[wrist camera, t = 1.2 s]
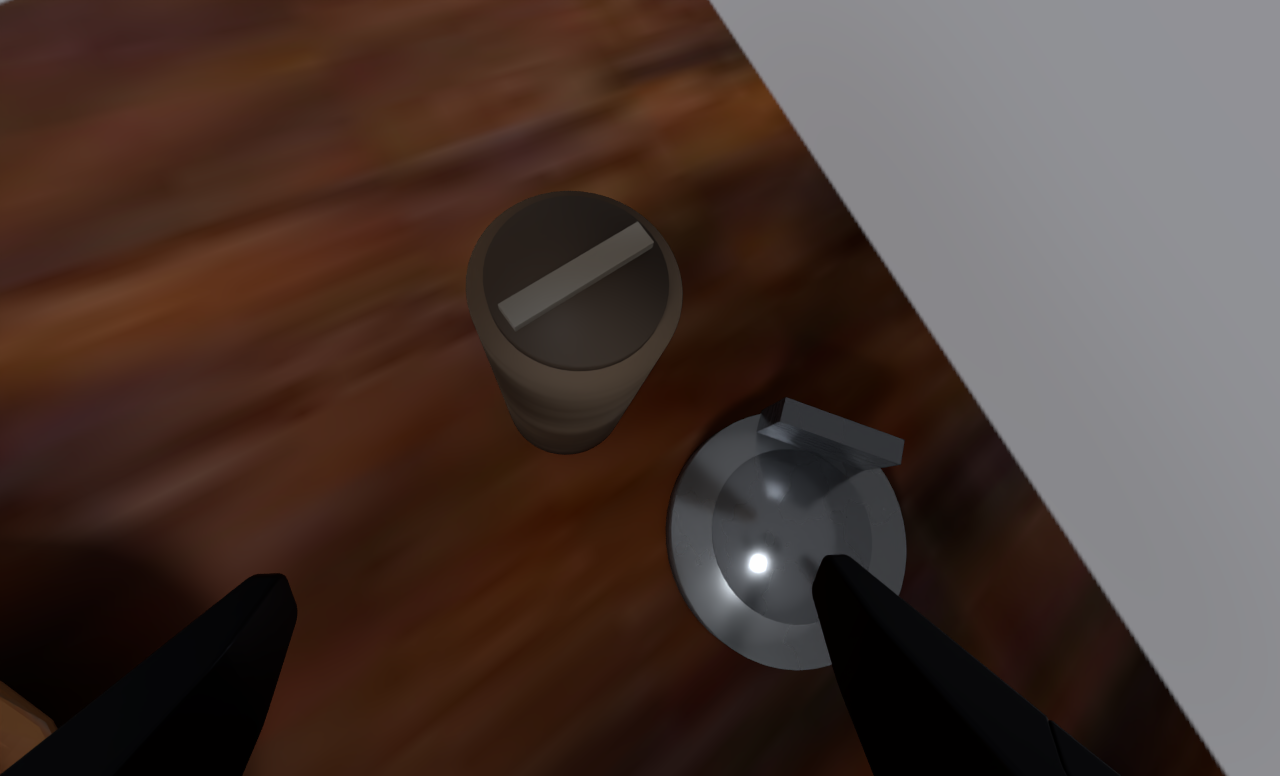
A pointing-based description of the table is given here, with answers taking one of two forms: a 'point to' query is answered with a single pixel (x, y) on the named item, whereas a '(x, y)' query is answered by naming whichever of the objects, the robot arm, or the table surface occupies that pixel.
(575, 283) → the brown cylinder
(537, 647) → the table surface
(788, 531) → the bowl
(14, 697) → the pie
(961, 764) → the robot arm
